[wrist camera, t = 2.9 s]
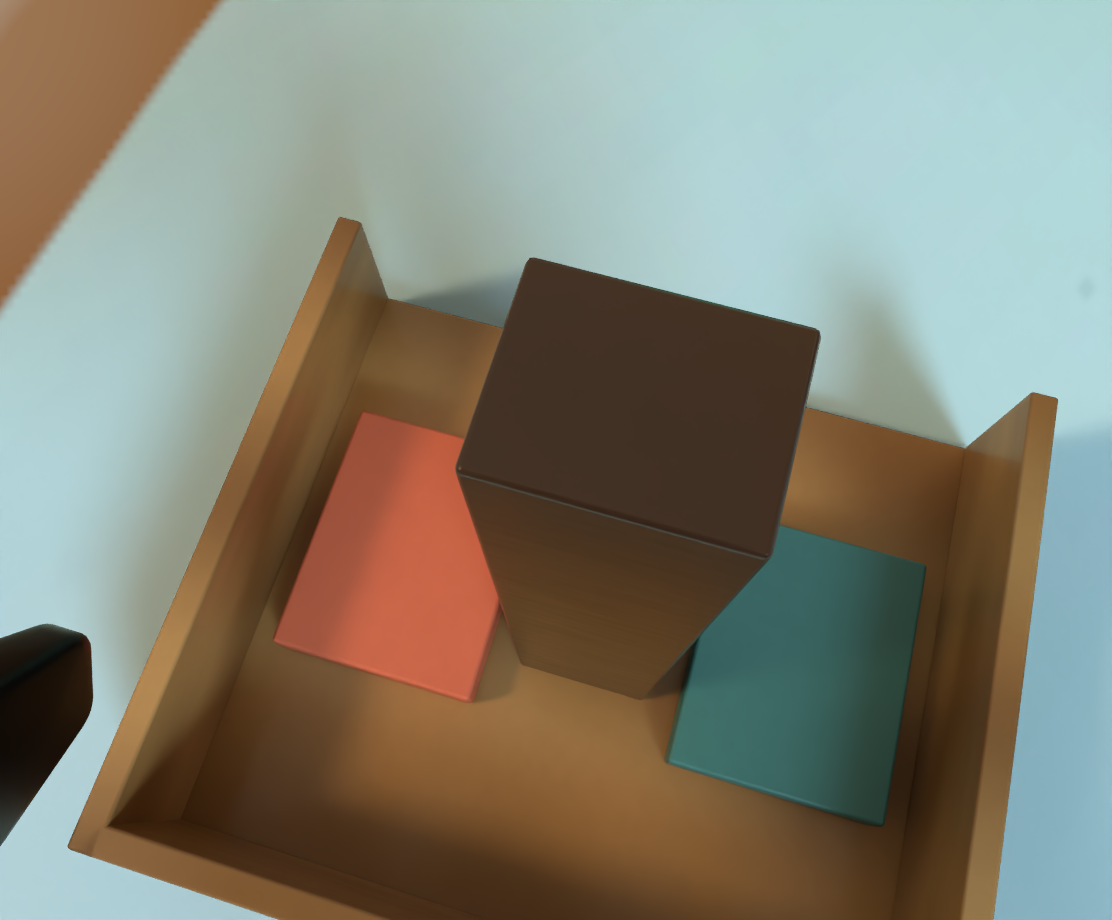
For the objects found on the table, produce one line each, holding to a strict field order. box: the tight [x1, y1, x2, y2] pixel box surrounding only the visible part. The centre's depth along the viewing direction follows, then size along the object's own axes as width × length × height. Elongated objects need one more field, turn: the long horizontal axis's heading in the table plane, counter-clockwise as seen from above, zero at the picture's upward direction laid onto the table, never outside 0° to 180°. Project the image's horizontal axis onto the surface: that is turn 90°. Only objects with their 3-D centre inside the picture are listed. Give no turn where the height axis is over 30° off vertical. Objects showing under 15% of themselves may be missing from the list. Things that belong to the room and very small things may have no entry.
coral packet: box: [273, 411, 502, 703], centre depth 19 cm, size 5×4×1 cm
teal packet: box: [664, 525, 927, 827], centre depth 18 cm, size 5×4×1 cm
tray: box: [68, 217, 1058, 920], centre depth 13 cm, size 12×14×12 cm
